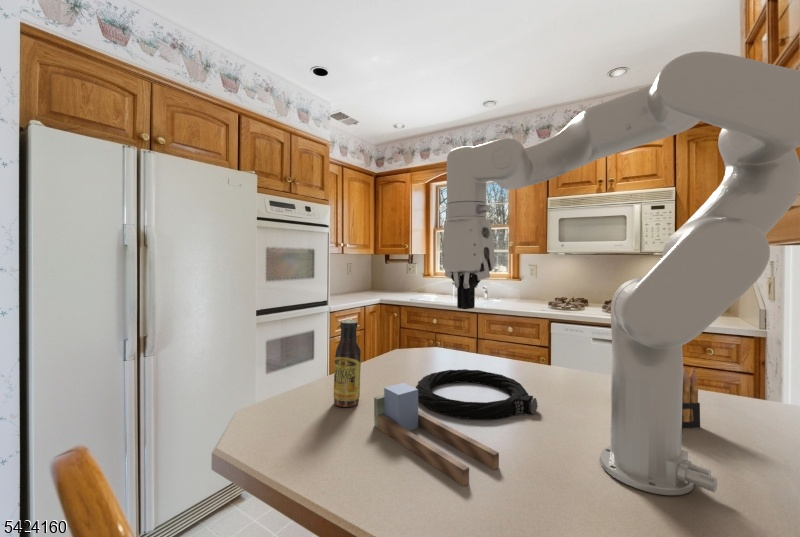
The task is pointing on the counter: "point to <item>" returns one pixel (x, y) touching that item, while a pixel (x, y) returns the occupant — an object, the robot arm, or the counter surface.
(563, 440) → the counter surface
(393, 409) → the block
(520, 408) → the cable lock
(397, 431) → the track
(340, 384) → the sauce bottle
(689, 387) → the ammunition clip
